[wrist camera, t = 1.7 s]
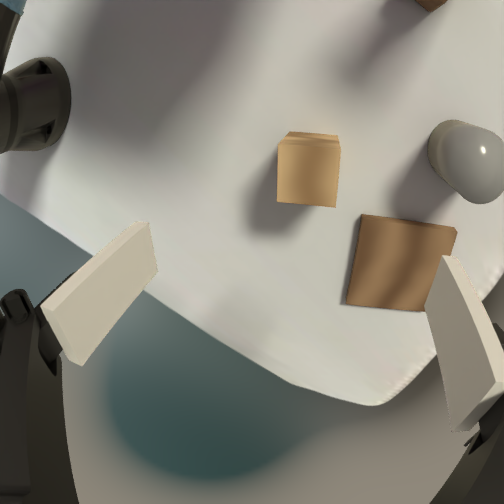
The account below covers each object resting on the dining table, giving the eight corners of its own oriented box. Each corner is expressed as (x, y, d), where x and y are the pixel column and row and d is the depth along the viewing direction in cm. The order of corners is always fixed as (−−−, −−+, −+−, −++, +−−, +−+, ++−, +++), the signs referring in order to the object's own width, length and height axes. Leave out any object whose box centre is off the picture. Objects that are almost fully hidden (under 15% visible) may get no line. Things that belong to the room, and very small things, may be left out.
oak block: (288, 176, 32) (276, 201, 26) (289, 131, 30) (278, 144, 23) (334, 180, 31) (335, 207, 25) (337, 135, 29) (340, 149, 22)
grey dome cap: (423, 175, 28) (444, 197, 22) (431, 113, 25) (456, 120, 19) (474, 186, 27) (501, 209, 21) (484, 127, 23) (515, 140, 17)
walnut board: (345, 298, 38) (345, 304, 37) (361, 214, 32) (362, 218, 31) (427, 306, 36) (429, 312, 35) (454, 227, 30) (457, 232, 29)
